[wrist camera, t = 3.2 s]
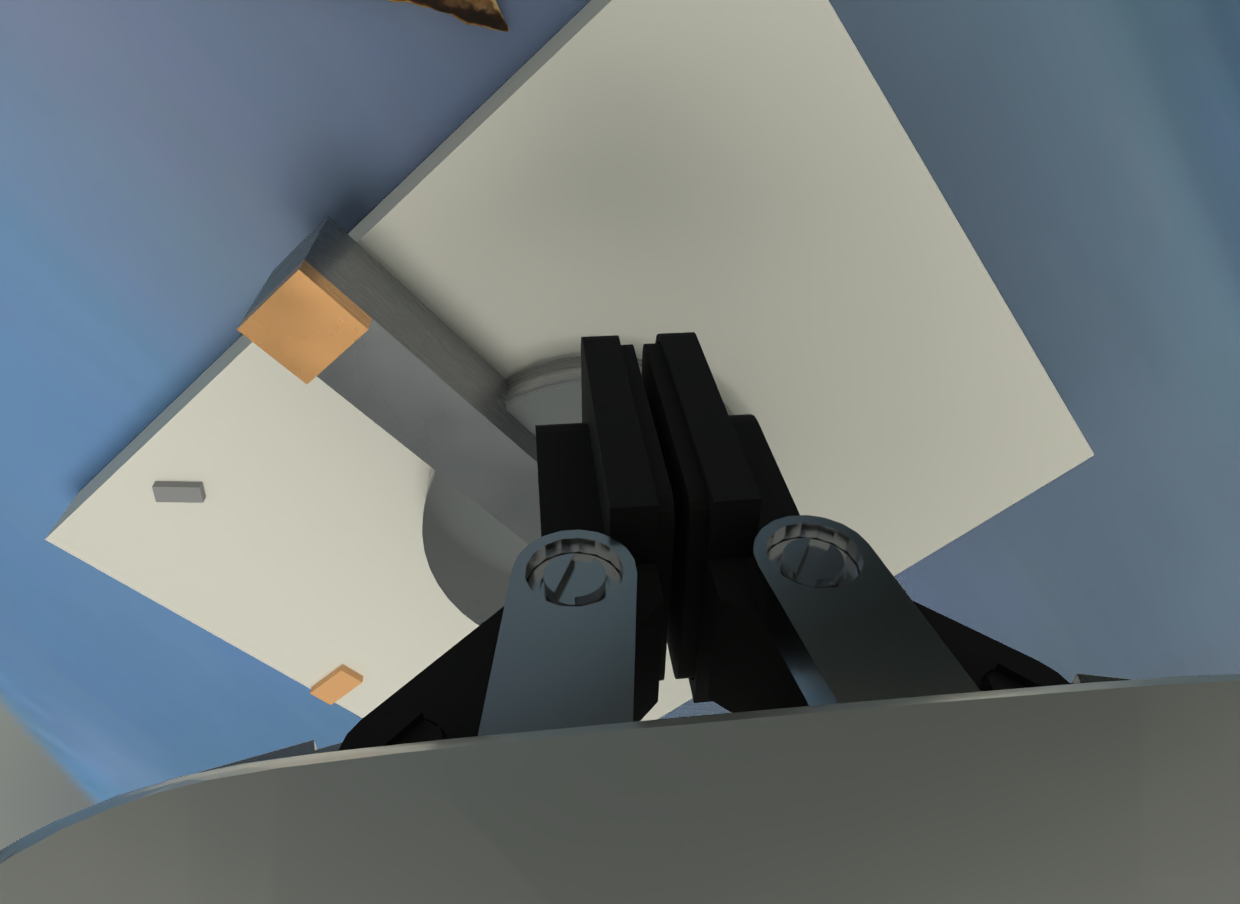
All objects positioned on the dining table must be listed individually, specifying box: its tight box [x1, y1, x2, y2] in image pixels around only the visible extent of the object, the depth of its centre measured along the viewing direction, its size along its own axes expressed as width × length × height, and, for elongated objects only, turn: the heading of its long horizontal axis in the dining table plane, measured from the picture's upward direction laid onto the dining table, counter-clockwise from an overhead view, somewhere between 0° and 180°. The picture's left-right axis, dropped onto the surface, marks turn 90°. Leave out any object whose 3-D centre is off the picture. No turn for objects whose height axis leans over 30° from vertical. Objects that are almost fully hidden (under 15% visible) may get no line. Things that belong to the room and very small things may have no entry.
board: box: [45, 0, 1094, 721], centre depth 29 cm, size 22×28×3 cm
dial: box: [237, 216, 734, 625], centre depth 25 cm, size 18×11×4 cm, turn 39°
